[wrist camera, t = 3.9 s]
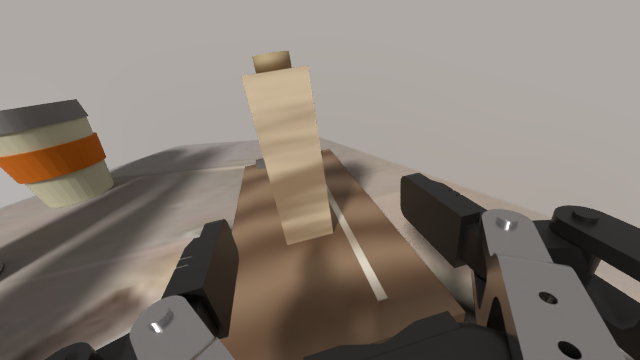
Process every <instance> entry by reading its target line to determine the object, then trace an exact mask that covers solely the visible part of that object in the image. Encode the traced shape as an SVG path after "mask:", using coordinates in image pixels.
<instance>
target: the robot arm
mask: <svg viewBox="0 0 640 360" xmlns="http://www.w3.org/2000/svg"><path fill="white" fill-rule="evenodd" d="M401 210H402V213H403V215H404V217H405V218H406V219H407V220H408V221H409V222H410V223H411V224H412V225H413V226H414V227H415V228H416V229H417V230H418V231H419V232H420V233H421V234H422V235H423V236H424V237H425V238H426V240H427V241H428V242H429V243H430V244H431V245H432V246H433V247H434V248H435V249H436V250H437V251H438V252H439V253H440V254H441V255H442V256H443V257H444V258H445V259H446V260H447V261H448V262H449V263H450V264H451V265H452V266H453V267H454V268H456V267H460V266H463V265H466V264H467V265H468V266H469V267H470V268H471V269H472V271H471V279H472V287H473V296H474V305H475V314H476V324H471V323H462V322H456V320H455V319H454V318H453V317H452V315H451V314H450V313H449V311H445V312H442V313H439V314H436V315H433V316H429V317H426V318H423V319H420V320H417V321H414V322H413V323H411V324H410V325H409V326H407V327H406V328H404V329H403V330H402V331H400V332H399V333H397V334H396V335H395V336H393V337H392V338H391V339H389V340H388V341H386V342H385V343H382V344H361V345H340V346H337V347H334V348H330V349H327V350H324V351H321V352H318V353H315V354H312V355H309V356H306V357H303V360H626V359H625V358H624V356H623V354H622V352H621V351H620V349H619V347H620V348H621V349H622V350H623V351H625V352H626V353H627V354H628V355H630V356H631V357H632V358H633V359H635V360H640V303H639V302H637V301H636V300H634V299H632V298H631V297H629V296H628V295H626V294H625V293H623V292H622V291H620V290H618V289H617V288H615V287H614V286H612V285H611V284H609V283H608V282H606V281H604V280H603V279H601V278H600V277H598V276H597V275H595V274H594V273H595V271H596V269H597V267H598V265H599V263H600V261H601V260H603V261H605V262H607V263H608V264H610V265H612V266H613V267H615V268H617V269H619V270H620V271H622V272H624V273H625V274H627V275H629V276H630V277H632V278H634V279H636V280H637V281H639V282H640V228H637V227H635V226H633V225H630V224H628V223H626V222H624V221H621V220H619V219H617V218H614V217H612V216H610V215H607V214H605V213H603V212H600V211H597V210H594V209H590V208H586V207H581V206H561V207H558V208H556V209H555V211H554V214H553V216H552V219H551V220H538V221H531V220H530V219H529V218H527V217H526V216H524V215H522V214H520V213H517V212H514V211H510V210H503V209H493V210H488V211H487V210H486V209H484V208H483V207H481V206H479V205H478V204H476V203H474V202H473V201H471V200H469V199H468V198H466V197H465V196H463V195H460V193H458V192H456V191H455V190H454V191H453V189H451V188H450V187H448V186H446V185H445V184H443V183H439V182H436V181H433V180H430V179H428V178H427V177H425V176H424V175H422V174H420V173H415V174H411V175H407V176H403V177H402V178H401ZM3 266H4V265H3V263H2V262H1V261H0V271H1V270H2V268H3ZM238 266H239V253H238V249H237V246H236V243H235V241H234V238H233V235H232V233H231V230H230V228H229V225H228V223H227V221H226V220H225V219H222V220H218V221H214V222H210V223H206V224H205V225H204V228H203V230H202V233H201V235H200V237H198V238H194V239H193V240H192V241H191V242H190V243H189V244H188V246H187V247H186V248H185V249H184V251H183V253H182V256H181V258H180V260H179V262H178V264H177V266H176V269H175V270H174V273H173V275H172V277H171V279H170V281H169V283H168V285H167V288H166V290H165V292H164V294H163V296H162V298H161V300H159V301H157V302H156V303H154V304H152V305H151V306H150V307H148V308H147V309H146V310H145V311H144V312H143V313H142V314H141V315H140V316H139V317H138V318H137V320H136V321H135V322H134V324H133V326H132V328H131V331H130V333H128V334H126V335H125V336H123V337H121V338H119V339H117V340H115V341H113V342H111V343H110V344H108V345H106V346H104V347H102V348H100V349H98V350H96V351H95V350H94V349H93V348H92V347H91V346H90V345H89V344H88V343H84V342H81V343H75V344H72V345H69V346H67V347H65V348H63V349H61V350H59V351H57V352H55V353H54V354H52V355H51V356H49V357H48V358H47V359H45V360H235V359H234V358H233V357H232V355H231V354H230V353H229V351H228V350H227V349H226V348H225V346H224V345H223V344H222V342H221V341H220V340H219V339H222V338H226V337H228V336H229V329H230V322H231V315H232V308H233V301H234V294H235V287H236V280H237V273H238ZM618 346H619V347H618Z"/></svg>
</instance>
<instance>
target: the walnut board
mask: <svg viewBox="0 0 640 360" xmlns="http://www.w3.org/2000/svg"><path fill="white" fill-rule="evenodd" d="M321 155H322V162H323V168H324V175H325V181H326V188H327V195H328V201H329V208H330V214H331V221H332V228H333V233H332V234H328V235H324V236H320V237H316V238H313V239H309V240H305V241H301V242H297V243H293V244H289V245H287V243H286V239H285V235H284V231H283V228H282V224H281V220H280V217H279V213H278V209H277V206H276V202H275V198H274V195H273V191H272V187H271V184H270V180H269V176H268V172H267V169H266V165H265V161H264V158H263V159H258V160H256V165H251V166H247V167H245V171H244V176H243V181H242V185H241V190H240V195H239V200H238V205H237V210H236V215H235V219H234V224H233V229H232V235H233V238H234V241H235V243H236V246H237V249H238V253H239V266H238V273H237V280H236V287H235V294H234V301H233V308H232V315H231V322H230V329H229V336H228V337H226V338H222V339H219V340H220V341H221V342H222V344H223V345H224V346H225V348H226V349H227V350H228V351H229V353H230V354H231V355H232V357H233V358H234V359H235V360H303V357H306V356H309V355H312V354H315V353H318V352H321V351H324V350H327V349H330V348H334V347H337V346H340V345H361V344H382V343H385V342H386V341H388V340H389V339H391V338H392V337H393V336H395V335H396V334H397V333H399V332H400V331H402V330H403V329H404V328H406V327H407V326H409V325H410V324H411V323H413V322H414V321H417V320H420V319H423V318H426V317H429V316H433V315H436V314H439V313H442V312H445V311H449V313H450V314H451V315H452V317H453V318H454V319H455V320H456V322H462V323H463V322H464V318H465V313H466V312H465V311H464V310H463V309H462V307H461V306H460V305H459V304H458V303H457V301H456V300H455V299H454V298H453V297H452V295H451V294H450V293H449V292H448V291H447V289H446V288H445V287H444V286H443V285H442V283H441V282H440V281H439V280H438V279H437V277H436V276H435V275H434V274H433V273H432V271H431V270H430V269H429V268H428V267H427V265H426V264H425V263H424V262H423V261H422V259H421V258H420V257H419V256H418V255H417V253H416V252H415V251H414V250H413V249H412V247H411V246H410V245H409V244H408V243H407V241H406V240H405V239H404V238H403V237H402V235H401V234H400V233H399V232H398V231H397V229H396V228H395V227H394V226H393V225H392V223H391V222H390V221H389V220H388V219H387V217H386V216H385V215H384V214H383V213H382V211H381V210H380V209H379V208H378V207H377V205H376V204H375V203H374V202H373V201H372V199H371V198H370V197H369V196H368V195H367V193H366V192H365V191H364V190H363V189H362V187H361V186H360V185H359V184H358V183H357V181H356V180H355V179H354V178H353V177H352V175H351V174H350V173H349V172H348V171H347V169H346V168H345V167H344V166H343V165H342V163H341V162H340V161H339V160H338V159H337V158H336V156H335V155H334V154H333V153H332V152H331V150H330V149H327V150H322V151H321Z"/></svg>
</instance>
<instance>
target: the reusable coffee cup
mask: <svg viewBox="0 0 640 360" xmlns="http://www.w3.org/2000/svg"><path fill="white" fill-rule="evenodd" d="M86 116H88V114H87V113H86V112H85V110H84V109H83V108H82V106H81V105H80V104H79V102H78V101H77V100H76V99H75V100H67V101H61V102H54V103H48V104H41V105H35V106H28V107H22V108H16V109H9V110H3V111H0V167H1V168H2V169H3V170H4V171H5V172H7V173H8V174H9V175H10V176H11V177H12V178H13V179H14V180H15V181H16V182H18V183H20V184H25V185H26V186H27V187H28V188H29V189H30V190H31V191H32V192H34V193H35V194H36V195H37V196H38V197H39V198H40V199H41V200H42V201H43V202H44V203H45V204H46V205H48V206H49V207H50V208H60V207H65V206H70V205H73V204H77V203H80V202H83V201H85V200H88V199H91V198H93V197H95V196H98V195H100V194H102V193H104V192H105V191H107V190H109V189H110V188H111V187H113V185H114V182H113V180H112V177H111V175H110V173H109V170H108V168H107V165H106V163H105V161H104V159H105V158H106V155H105V153H104V150H103V148H102V146H101V143H100V141H99V138H98V136H97V133H93V132H92V129H91V127H90V124H89V122H88V120H87V117H86Z"/></svg>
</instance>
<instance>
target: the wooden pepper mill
mask: <svg viewBox="0 0 640 360" xmlns="http://www.w3.org/2000/svg"><path fill="white" fill-rule="evenodd" d="M252 59H253V63H254V67H255V70H256V74H251V75H245V76H242V80H243V84H244V88H245V91H246V95H247V98H248V102H249V106H250V110H251V113H252V117H253V121H254V125H255V128H256V132H257V136H258V139H259V143H260V147H261V150H262V154H263V158H264V161H265V165H266V169H267V172H268V176H269V180H270V184H271V187H272V191H273V195H274V198H275V202H276V206H277V209H278V213H279V217H280V220H281V224H282V228H283V231H284V235H285V239H286V243H287V245H289V244H293V243H297V242H301V241H305V240H309V239H313V238H316V237H320V236H324V235H328V234H332V233H333V228H332V221H331V214H330V208H329V201H328V195H327V188H326V181H325V175H324V168H323V162H322V155H321V148H320V142H319V135H318V129H317V122H316V116H315V109H314V102H313V96H312V89H311V82H310V76H309V69H308V65H307V66H300V67H294V68H292V67H291V61H290V56H289V51H281V52H272V53H266V54H261V55H256V56H253V57H252Z"/></svg>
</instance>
